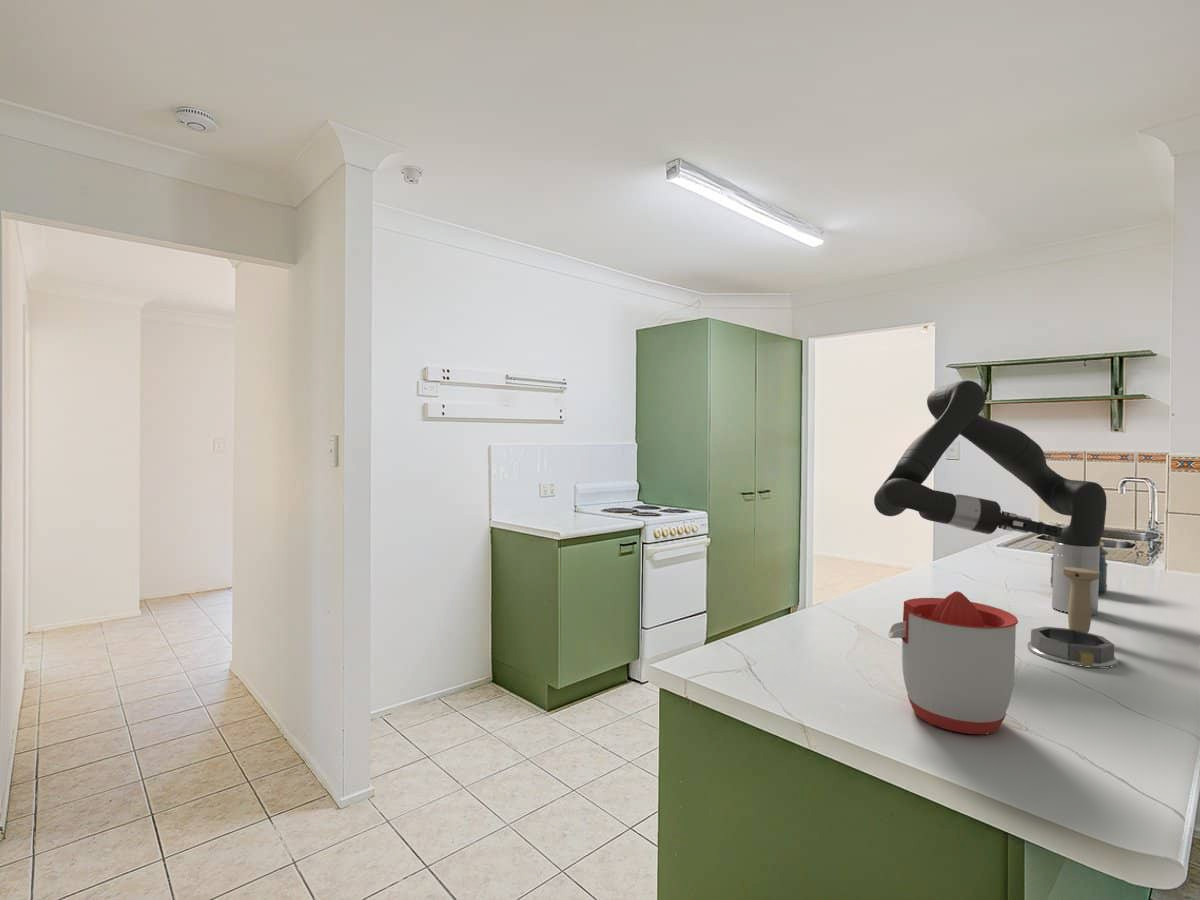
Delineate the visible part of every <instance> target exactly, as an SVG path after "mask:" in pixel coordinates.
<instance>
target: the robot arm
mask: <svg viewBox="0 0 1200 900" xmlns="http://www.w3.org/2000/svg"><path fill="white" fill-rule="evenodd" d="M926 403H927V404H926V406H927V409H928V411H929V412H930V414H931V415H932V417H934V419H936V421H935V422H934V423H933V424H932V425H931V426H929V427H928V428H927V429H926V430H925V431H924V432H922V433H921V434H920V435H919V436H918V437H916V439H914V440H913V441H912V442H911V444H910V445H909V446H908V447H907V448H906V450H905V451H904V453H903V455H902V456H901V457H900V459H898V461H897V464H896V466H895V467H894V469H893V471H892V472H891V473H890V475H888V477H887V478H886V479H885V481H884V482H883V483H882V484H881V486H880V487H879V488H878V489H877V491H876V493H875V495H874V498H873V503H874V504H873V505H874V507H875V509H876V511H877V512H878V513H879V514H881V515H883V516H884V517H885V516H886V517H896V516H899V515H900V514H902V513H903V512H905V510H908V509H909V510H913V511H916V512H918V514H919V516H920V517H921V518H922V519H924V520H927V521H931V522H934V523H939V524H944V525H948V526H951V527H954V528H958V529H962V530H966V531H970V532H971V531H972V532H976V533H981V534H986V535H992V534H993V533H994V532H995V531H996V530H997V528H998V529H1001V530H1004V531H1009V532H1013V531H1015V532H1018V533H1023V534H1028V533H1033V534H1036V535H1037V536H1038V535H1039V536H1040V535H1042V536H1043V535H1045V536H1049V537H1050V536H1051V537H1053V546H1054V560H1053V587H1052V594H1051V595H1052V597H1051V608H1052V607H1053V608H1052V609H1054V608H1055V609H1054V610H1056V609H1057V610H1056V611H1058V610H1060V611H1059V612H1062V611H1064V612H1063V613H1066V612H1068V607H1069V598H1070V588H1071V580H1070V578H1068V577H1067V576H1065V575H1064V574H1063V573H1062V569H1063V567H1073V568H1082V569H1089V570H1094V571H1098V572H1099V555H1100V541H1101V539H1102V536H1103V535H1104V531H1105V527H1106V526H1105V523H1106V512H1107V495H1106V491H1105V490H1104V488H1103V487H1102V485H1100V484H1099V483H1097V482H1094V481H1086V480H1076V479H1075V480H1074V479H1068V478H1066V477H1063V476H1061V475H1060V474H1059V473H1057V471H1054V470H1053V469H1052V468H1050V466H1049V465H1048V464H1047V460H1046V454H1045V451H1044V450H1043V448H1042V447H1041V446H1040V444H1038V443H1037V442H1036V441H1035V440H1034V439H1032V438H1031V437H1029V436H1028V435H1027V434H1026V433H1024V432H1023V431H1021V430H1020V429H1018V428H1016V427H1014V426H1011V425H1008V424H1005V423H1003V422H999V421H996V420H992V419H989V418H987V417H984V416H982V415H980V413H981V412H982V411H983V409H984V407H985V405H986V404H985V403H986V394H985V391H984V390H983V388H982V386H981V385H980V384H979V383H977V382H975V381H974V380H962V381H957V382H953V383H950V384H946V385H943V386H940V387H938V388H936V389H934V390H932V391H931V392H930V393H929V394H928V396H927V399H926ZM959 435H961V436H962V437H964V438H965V439H966V440H968V441H969V442H970V443H972V444H973V445H974V446H975V447H977V448H978V449H980V450H981V451H982V452H984V453H985V454H986V455H988V456H989V457H990V459H992V460H993V461H994V462H996V463H997V464H998V465H999V466H1001V467H1002V468H1003V469H1005V470H1006V471H1007V472H1009V473H1010V474H1012V475H1013V476H1014V477H1015V478H1016V479H1018V480H1019V481H1021V483H1023V484H1024V485H1025V486H1027V487H1029V488H1030V489H1031V490H1032V491H1033V492H1034V493H1035V494H1036V495H1037V497H1039V498H1040V499H1041V500H1042V501H1043V502H1044V504H1046V505H1047V506H1048V507H1049V508H1050V509H1051V510H1052V511H1053V512H1055V513H1057V514H1060V515H1063V516H1068V517H1070V522H1069V525H1067V526H1066V527H1064V528H1062V527H1060V526H1056V525H1052V524H1046V523H1045V522H1042V521H1034V520H1032V518H1030V517H1027V516H1021V515H1018V514H1016V513H1013V512H1008V511H1005V510H1004V511H1003V510H1002V509H1001V505H1000V504H999V503H998V502H997V501H994V500H990V499H985V498H980V497H976V496H972V495H971V496H970V495H965V494H957V493H951V492H945V491H941V490H935V489H932V488H930V487H928V486H926V485H923V484H924V482H925V481H926V480H927V478H928V477H929V476H930V474H931V472H932V471H933V469H934V468H935V466H936V465H937V463H938V461H940V459H941V457H942V456H943V454H944V453H945V452H946V451H947V449H948V448H949V447H950V446H951V445H952V443H953V442H955V440H957V438H958V437H959ZM1098 590H1099V578H1098V579H1097V580H1093V581H1091V583H1090V600H1091V616H1096V614H1097V615H1098V613H1099V612H1098V611H1099V595H1098Z"/></svg>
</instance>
